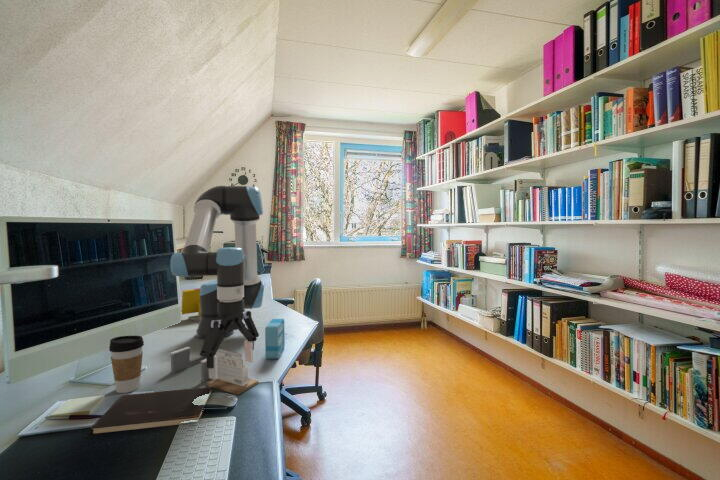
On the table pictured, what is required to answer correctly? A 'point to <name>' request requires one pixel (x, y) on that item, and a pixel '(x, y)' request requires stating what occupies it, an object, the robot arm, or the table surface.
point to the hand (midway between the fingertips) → (232, 369)
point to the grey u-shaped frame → (189, 362)
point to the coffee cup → (126, 362)
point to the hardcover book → (151, 410)
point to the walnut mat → (231, 385)
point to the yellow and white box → (191, 303)
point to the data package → (274, 339)
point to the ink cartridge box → (231, 368)
